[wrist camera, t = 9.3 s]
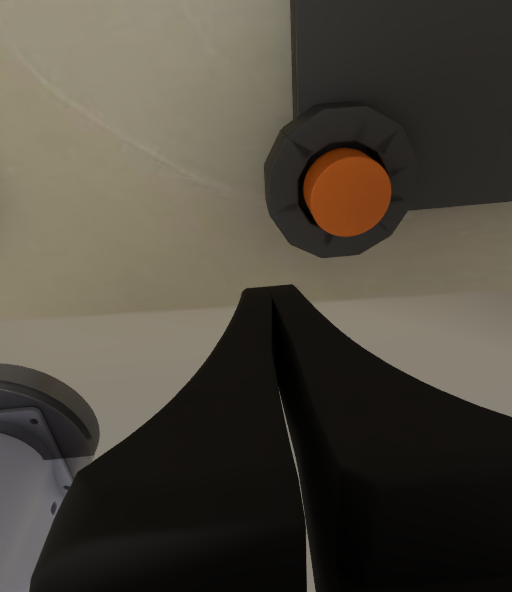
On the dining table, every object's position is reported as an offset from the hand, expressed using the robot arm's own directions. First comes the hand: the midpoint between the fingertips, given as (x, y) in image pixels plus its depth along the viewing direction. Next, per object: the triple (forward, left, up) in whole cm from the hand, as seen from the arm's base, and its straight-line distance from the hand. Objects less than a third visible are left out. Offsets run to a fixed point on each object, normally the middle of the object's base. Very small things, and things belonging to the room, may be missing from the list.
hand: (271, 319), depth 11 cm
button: (+1, -4, -7) cm, 8 cm away
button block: (+5, -10, -10) cm, 15 cm away
